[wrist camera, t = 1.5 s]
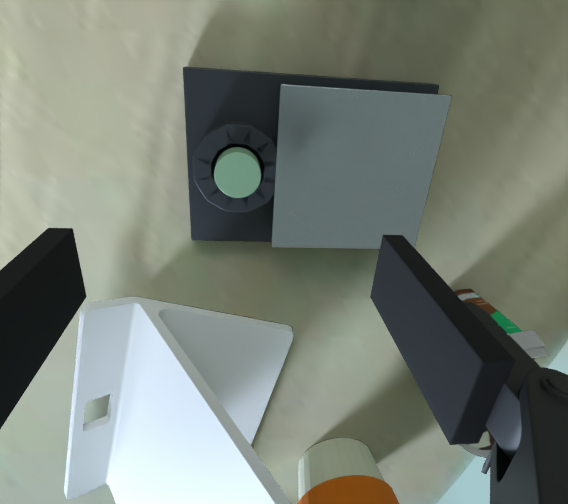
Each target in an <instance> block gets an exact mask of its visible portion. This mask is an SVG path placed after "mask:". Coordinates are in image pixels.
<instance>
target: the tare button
mask: <svg viewBox="0 0 568 504" xmlns="http://www.w3.org/2000/svg"><path fill="white" fill-rule="evenodd" d="M214 178H215V182H216V184H217V186H218V188H219V189H220V190H221V191H222V192H223V193H225V194H226V195H228V196H231V197H235V198H242V197H246V196H248V195H250V194H252V193H253V192H254V191H255V190H256V189H257V188H258V186H259V184H260V181H261V170H260V164H259V161H258V159H257V158H256V156H255V155H254V154H253V153H252V152H251V151H249V150H247V149H245V148H241V147H233V148H229V149H227V150H225V151H224V152H223V153H222V154H221V155H220V156H219V158H218V160H217V162H216V166H215V171H214Z"/></svg>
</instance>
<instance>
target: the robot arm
mask: <svg viewBox="0 0 568 504" xmlns="http://www.w3.org/2000/svg"><path fill="white" fill-rule="evenodd" d="M370 297H371V299H372V301H373V302H374V304H375V306H376V308H377V310H378V312H379V314H380V315H381V317H382V319H383V321H384V323H385V325H386V327H387V329H388V330H389V332H390V334H391V336H392V338H393V340H394V342H395V343H396V345H397V347H398V349H399V351H400V353H401V355H402V356H403V358H404V360H405V362H406V364H407V366H408V368H409V369H410V371H411V373H412V375H413V377H414V379H415V381H416V382H417V384H418V386H419V388H420V390H421V392H422V394H423V395H424V397H425V399H426V401H427V403H428V405H429V407H430V408H431V410H432V412H433V414H434V416H435V418H436V420H437V422H438V423H439V425H440V427H441V429H442V431H443V433H444V435H445V436H446V438H447V440H448V442H449V444H450V445H456V444H477V443H479V441H480V439H481V437H482V435H483V432H484V430H485V428H486V427H487V428H488V430H489V431H490V433H491V434H492V436H493V437H494V439H495V442H494V444H493V446H492V448H491V450H490V453H489V455H488V457H487V459H486V461H485V463H484V465H483V468H482V471H481V472H482V473H484V474H486V473H487V471H488V469H489V467H490V469H491V470H490V473H491V474H490V504H568V375H566V374H564V373H562V372H559V371H557V370H553V369H548V368H541V367H540V366H539V365H538V364H537V363H536V362H535V361H534V360H533V359H532V358H531V357H530V356H529V355H528V354H527V353H526V352H525V351H524V350H523V349H522V348H521V346H520V345H519V344H518V343H517V342H516V341H515V340H514V339H513V338H512V337H511V336H510V335H507V332H506V331H505V330H504V329H503V328H502V327H501V326H500V325H498V323H497V322H496V321H495V320H494V318H493V317H492V316H491V315H490V314H489V313H488V312H487V311H485V310H484V309H482V308H480V307H479V306H477V305H476V304H474V303H472V302H463V301H462V300H461V299H460V298H459V297H458V296H457V295H456V294H455V293H454V291H453V290H452V289H451V288H450V287H449V286H448V285H447V284H446V283H445V282H444V280H443V279H442V278H441V277H440V276H439V275H438V274H437V273H436V272H435V271H434V269H433V268H432V267H431V266H430V265H429V264H428V263H427V262H426V261H425V259H424V258H423V257H422V256H421V255H420V254H419V253H418V252H417V251H416V250H415V248H414V247H413V246H412V245H411V244H410V243H409V242H408V241H407V240H406V238H405V237H404V236H403V235H383V236H382V241H381V246H380V251H379V256H378V261H377V266H376V271H375V276H374V281H373V286H372V291H371V296H370ZM85 298H86V292H85V287H84V282H83V278H82V273H81V268H80V263H79V258H78V253H77V248H76V243H75V238H74V233H73V229H72V228H48V229H47V230H46V231H45V232H43V233H42V234H41V235H40V236H39V237H38V238H37V239H35V240H34V241H33V242H32V243H31V244H30V245H29V246H28V247H26V248H25V249H24V250H23V251H22V252H21V253H20V254H18V255H17V256H16V257H15V258H14V259H13V260H12V261H11V262H9V263H8V264H7V265H6V266H5V267H4V268H3V269H1V270H0V429H1V427H2V426H3V424H4V422H5V421H6V419H7V418H8V416H9V415H10V413H11V412H12V410H13V409H14V407H15V406H16V404H17V403H18V401H19V399H20V398H21V396H22V395H23V393H24V392H25V390H26V389H27V387H28V386H29V384H30V383H31V381H32V379H33V378H34V376H35V375H36V373H37V372H38V370H39V369H40V367H41V366H42V364H43V363H44V361H45V359H46V358H47V356H48V355H49V353H50V352H51V350H52V349H53V347H54V346H55V344H56V343H57V341H58V339H59V338H60V336H61V335H62V333H63V332H64V330H65V329H66V327H67V326H68V324H69V323H70V321H71V319H72V318H73V316H74V315H75V313H76V312H77V310H78V309H79V307H80V306H81V304H82V303H83V301H84V299H85Z"/></svg>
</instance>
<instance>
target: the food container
mask: <svg viewBox="0 0 568 504" xmlns="http://www.w3.org/2000/svg"><path fill="white" fill-rule="evenodd" d="M454 293H455V294H456V295H457V296H458V297H459V298H460V299H461V300H462V301H463V302H472V303H474V304H476V305H477V306H479V307H480V308H482V309H484V310H485V311H487V312H488V313H489V314H490V315H491V316H492V317H493V318H494V320H495V321H496V322H497V323H498V325H500V326H501V327H502V328H503V329H504V330H505V331H506V332H507V335H510V336H511V337H512V338H513V339H514V340H515V341H516V342H517V343H518V344H519V345H520V346H521V348H522V349H523V350H524V351H525V352H526V353H527V354H528V355H529V356H530V357H531V358H532V359H533V360H534V359H535V358H537V357H543V356H550V354H549V353H548V352H547V351H546V350H545V349H544V347H545V345H544V343H543V342H542V341H541V340H540V338H539V337H538V336H537V334H536V333H535V332H534V330H530V331H522V330H521V329H520V328H518V327H517V326H516V325H515V324H513V323H512V322H511V321H510V320H509V319H507V318H506V317H505V316H504V315H502V314H501V313H500V312H499V311H497V310H496V309H495V308H494V307H493V306H491V305H490V304H489V303H488V302H486V301H485V300H484V299H483V298H481V297H480V296H479V295H478V294H477V293H475V292H474V291H473V290H472V289H464V290H457V291H455V292H454ZM494 442H495V439H494V437H493V436H492V434H491V433H490V431H489V430H488V428H487V427H486V428H485V430H484V432H483V435H482V437H481V439H480V441H479V443H477V444H459V445H461V446H462V447H463V448H464V449H465V450H467V451H468V452H470V453H472V454H474V455H477V456H480V457H484V458H487V457H488V455H489V453H490V450H491V448H492V446H493V444H494Z"/></svg>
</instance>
